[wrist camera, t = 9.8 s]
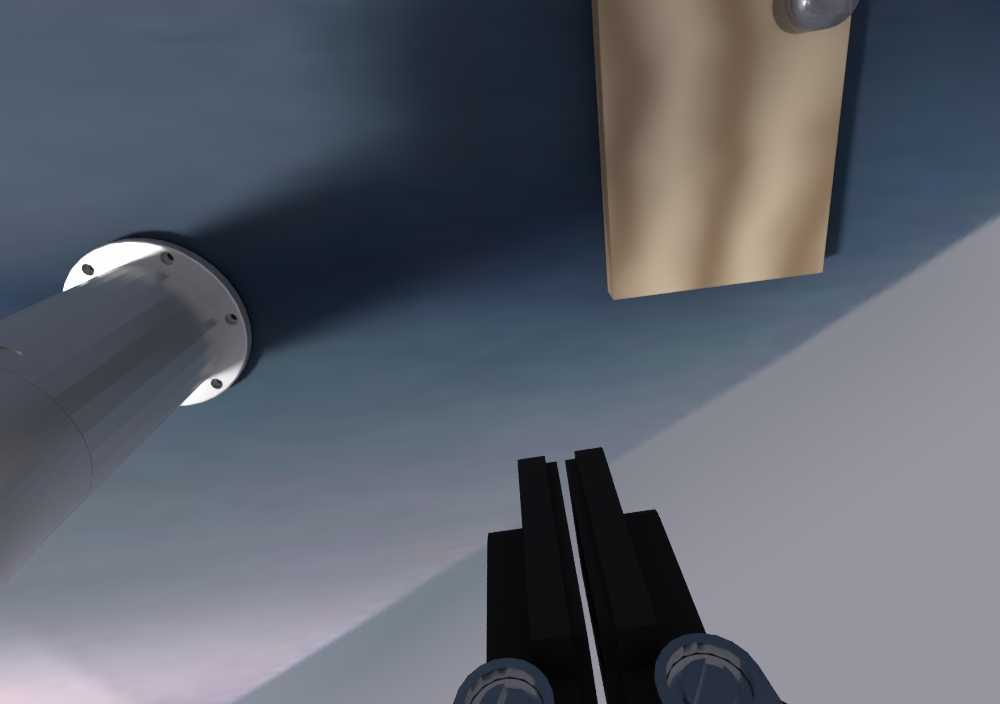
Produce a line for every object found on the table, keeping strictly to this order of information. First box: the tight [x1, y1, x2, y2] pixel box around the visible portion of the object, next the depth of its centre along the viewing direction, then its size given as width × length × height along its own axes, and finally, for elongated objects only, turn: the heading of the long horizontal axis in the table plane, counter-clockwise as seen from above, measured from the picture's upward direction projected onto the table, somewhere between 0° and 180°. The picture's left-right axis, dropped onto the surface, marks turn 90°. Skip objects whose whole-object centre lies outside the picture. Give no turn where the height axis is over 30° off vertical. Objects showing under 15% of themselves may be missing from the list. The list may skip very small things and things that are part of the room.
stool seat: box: [591, 0, 851, 300], centre depth 33 cm, size 14×20×5 cm
